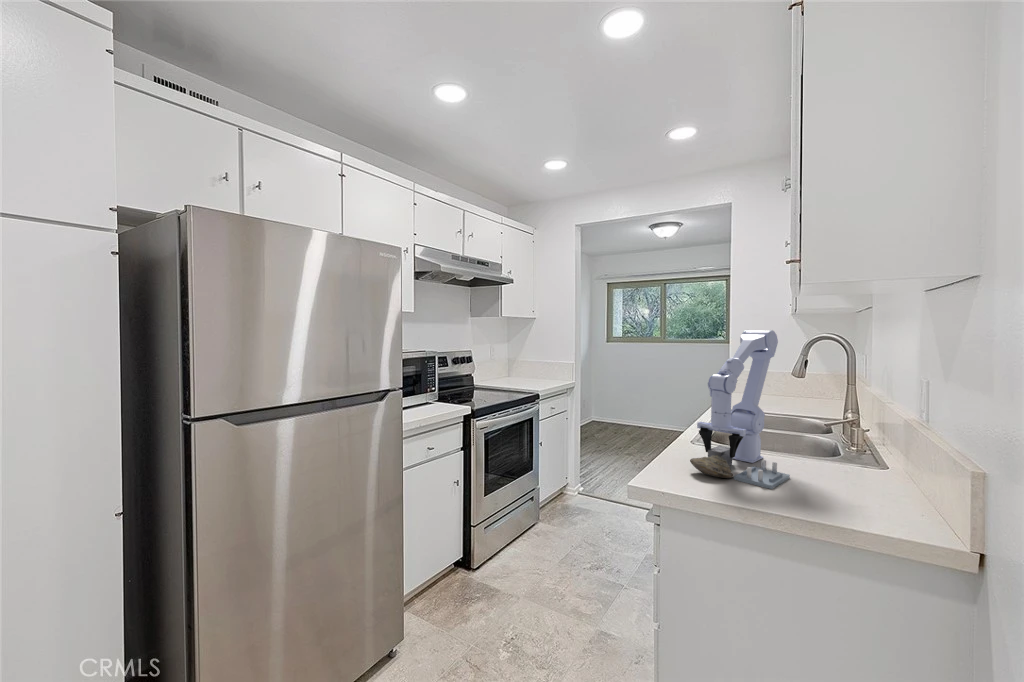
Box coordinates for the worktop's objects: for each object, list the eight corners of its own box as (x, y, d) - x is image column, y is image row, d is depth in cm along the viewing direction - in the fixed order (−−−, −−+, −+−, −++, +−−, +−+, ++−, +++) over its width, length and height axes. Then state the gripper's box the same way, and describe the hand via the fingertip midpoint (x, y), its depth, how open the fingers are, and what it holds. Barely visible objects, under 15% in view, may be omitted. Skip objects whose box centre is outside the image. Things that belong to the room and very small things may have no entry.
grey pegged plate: (753, 469, 137) (753, 456, 137) (789, 478, 130) (789, 464, 130) (733, 479, 128) (734, 465, 128) (771, 489, 121) (772, 474, 120)
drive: (719, 461, 145) (719, 445, 145) (732, 465, 142) (732, 448, 142) (707, 466, 140) (707, 449, 140) (720, 470, 137) (721, 452, 137)
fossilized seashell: (726, 478, 124) (719, 453, 127) (690, 483, 130) (683, 459, 133) (737, 476, 132) (730, 452, 134) (702, 481, 138) (696, 458, 141)
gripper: (692, 410, 143) (692, 451, 144) (739, 417, 132) (738, 462, 133) (703, 407, 148) (702, 447, 148) (749, 414, 137) (747, 457, 137)
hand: (720, 454), depth 141 cm, fingers open, 7 cm apart
